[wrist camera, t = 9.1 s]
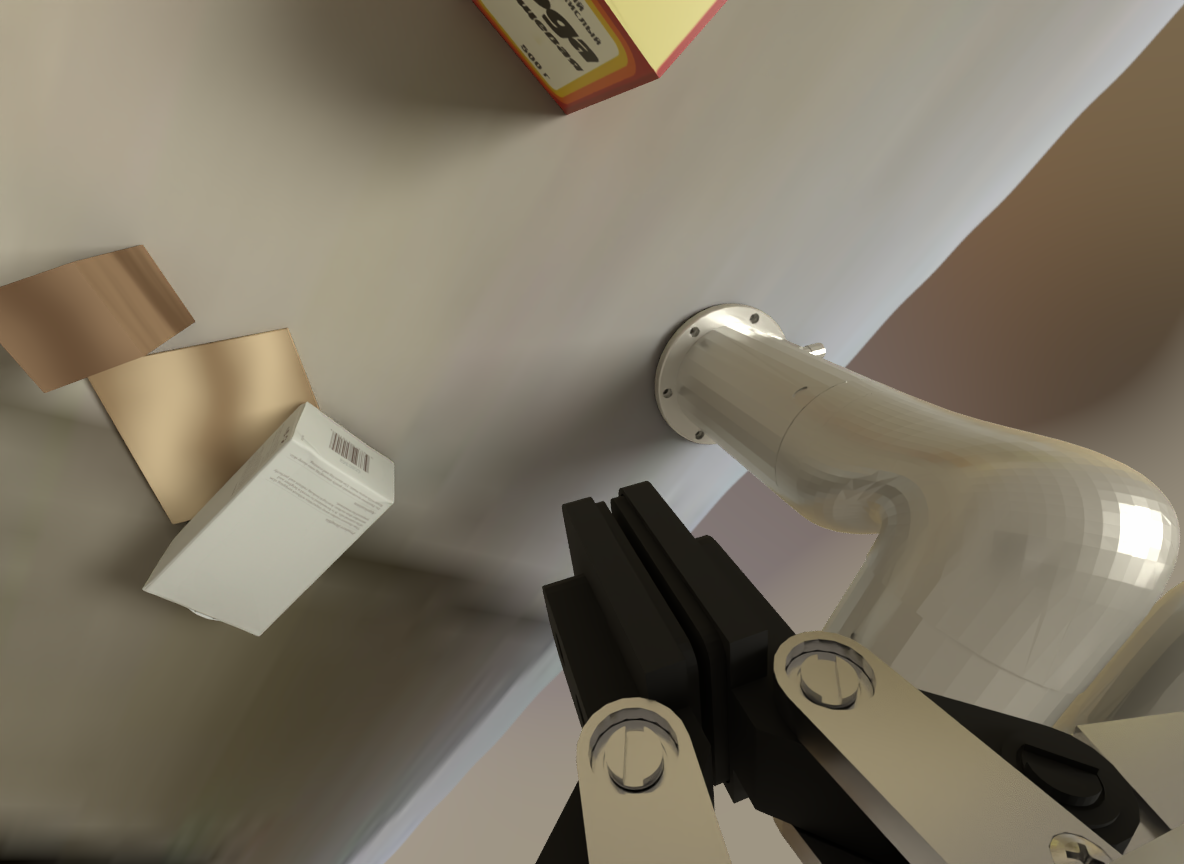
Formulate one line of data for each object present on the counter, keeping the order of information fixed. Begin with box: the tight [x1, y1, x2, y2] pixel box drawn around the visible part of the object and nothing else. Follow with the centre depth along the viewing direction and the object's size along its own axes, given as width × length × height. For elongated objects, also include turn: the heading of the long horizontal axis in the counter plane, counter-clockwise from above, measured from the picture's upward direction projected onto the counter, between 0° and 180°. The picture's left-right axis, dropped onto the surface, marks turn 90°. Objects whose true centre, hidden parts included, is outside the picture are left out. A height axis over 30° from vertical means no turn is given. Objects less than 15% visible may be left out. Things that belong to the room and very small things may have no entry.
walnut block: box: [0, 245, 195, 393], centre depth 31 cm, size 5×5×8 cm
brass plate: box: [88, 328, 320, 524], centre depth 39 cm, size 12×12×1 cm
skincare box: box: [143, 402, 394, 636], centre depth 39 cm, size 8×6×15 cm
